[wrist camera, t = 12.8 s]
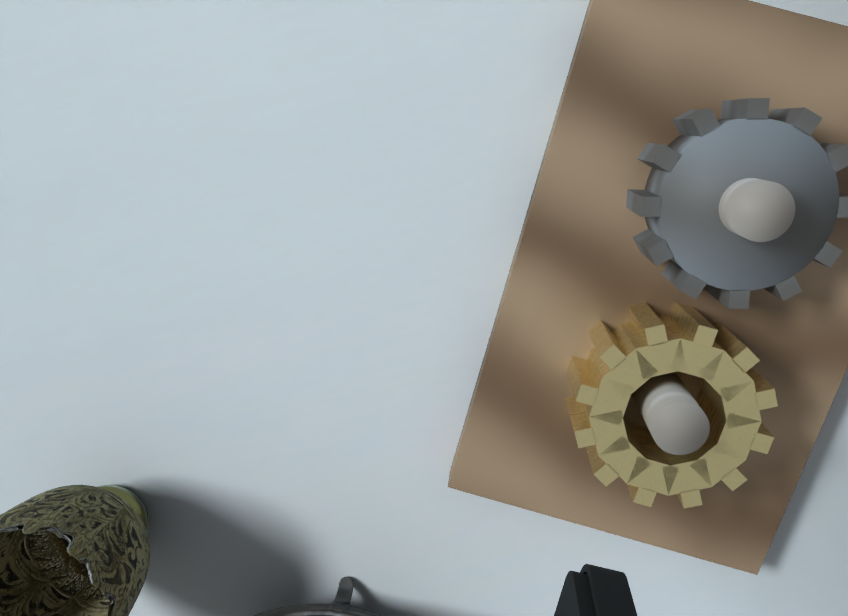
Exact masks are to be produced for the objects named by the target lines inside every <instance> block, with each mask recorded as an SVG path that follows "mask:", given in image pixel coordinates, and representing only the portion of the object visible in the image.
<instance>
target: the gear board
mask: <svg viewBox="0 0 848 616" xmlns="http://www.w3.org/2000/svg"><path fill="white" fill-rule="evenodd" d="M642 302H646V303H647V305H648V306H649V307H650V308H651V309H652V311H653V312H654V313H655V314H656V315H659V314H660V315H664V316H668V317H671V315H672V312H673V309H674V306H675V304H676V302H677V303H681V304H684V305H688V306H692V307H694V308H695V309H696V310H697V311H698V312H699V313H700V314H701V315H702V316H703V317H705V318H706V319H707V320H708V321H709V322H710V323H711V324H712V325H713V326H714V325H715V324H717V323H718V322H719V323H720V324H722V325H723V326H724V327H725V328H726V329H727V330H728V331H730V332H731V333H732V334H733V335H734V336H735V337H736V338H738V339H739V340H740V341H741V342H742V343H743V344H744V345H745V346H747V347H748V348H749V349H750V350H751V352H752V353H753V354H754V355H755V356H756V357H757V358H758V359H759V360H760V361H759V362H758V363H756V364H755V365H754V366H753V367H752V368H753V369H754V370H755V371H757V372H758V373H759V374H760V375H761V376H762V377H763V378H764V379H765V380H766V381H767V382H768V383H769V384H770V385H771V386H772V387H773V388H775V393H776V399H777V404H778V406H777V407H772V408H768V409H763V410H760V416H761V423H762V424H763V425H764V426H765V427H766V429H767V430H768V431H769V432H770V433H771V434H772V435H773V436H774V440H773V442H772V444H771V447H770V449H769V452H768V454H765V453H761V452H757V451H754V450H750V451H749V454H748V456H747V459H746V461H744V462H743V463H742V464H740V465H739V466H738V467H739V468H740V470H741V471H742V473H743V474H744V475H745V477H746V478H747V481H745V482H744V483H743V484H742V485H740V486H739V487H738V488H736V489H735V490H734V491H732V490H731V489H730V488H729V487H728V486H727V485H726V484H725V483H724V482H723V481H722V480H720V481H719V482H718V483H716V484H715V485H714V486H712V487H710V488H705V489H700V490H699V491H700V495H701V500H702V505H700V506H695V507H689V508H683V506H682V504H681V502H680V500H679V498H678V496H677V494H675V495H670V496H667V495H664V494H660V493H656V496H655V498H654V501H653V504H652V506H651V507H648V506H645V505H641V504H637V503H634V502H633V500H632V497H631V495H630V492H629V489H628V486H627V484H626V483H625V482H624V481H623V480H622V479H621V478H620V477H617V478H616V479H615V480H614V481H613V482H611V483H610V484H609V485H608V486H605V485H604V484H603V483H602V482H601V481H600V480H599V479H598V478H597V477H596V476H595V475H594V474H593V471H592V467H591V464H590V460H589V457H588V453H587V450H586V447H583V448H578V445H577V441H576V437H575V433H574V429H573V425H572V421H571V417H570V414H569V409H568V405H567V401H566V398H570V397H574V394H573V390H572V387H571V384H570V380H569V377H568V373H567V369H568V366H569V363H570V360H571V357H572V356H575V357H579V358H582V359H586V360H587V358H588V355H589V352H590V350H591V349H592V348H593V347H594V344H593V342H592V340H591V337H590V335H589V333H588V331H589V330H590V329H591V328H592V327H593V326H595V325H596V324H597V323H598V322H599V321H600V320H601V321H602V322H603V323H604V324H605V325H606V326H607V327H608V328H609V329H610V330H611V331H612V330H613V329H614V328H616V327H617V326H618V325H619V324H620V323H625V322H629V321H631V318H630V314H629V309H628V306H630V305H634V304H638V303H642ZM847 367H848V26H844V25H840V24H837V23H833V22H829V21H825V20H821V19H818V18H814V17H810V16H806V15H802V14H798V13H795V12H791V11H787V10H783V9H779V8H776V7H772V6H768V5H764V4H760V3H757V2H753V1H749V0H590V2H589V5H588V9H587V12H586V15H585V19H584V22H583V26H582V29H581V32H580V36H579V39H578V42H577V46H576V49H575V52H574V56H573V59H572V63H571V66H570V69H569V73H568V76H567V79H566V83H565V86H564V89H563V93H562V96H561V100H560V103H559V106H558V110H557V113H556V116H555V120H554V123H553V127H552V130H551V133H550V137H549V140H548V143H547V147H546V150H545V153H544V157H543V160H542V164H541V167H540V170H539V174H538V177H537V180H536V184H535V187H534V190H533V194H532V197H531V201H530V204H529V207H528V211H527V214H526V217H525V221H524V224H523V227H522V231H521V234H520V238H519V241H518V244H517V248H516V251H515V254H514V258H513V261H512V264H511V268H510V271H509V275H508V278H507V281H506V285H505V288H504V291H503V295H502V298H501V302H500V305H499V308H498V312H497V315H496V318H495V322H494V325H493V328H492V332H491V335H490V339H489V342H488V345H487V349H486V352H485V355H484V359H483V362H482V365H481V369H480V372H479V376H478V379H477V382H476V386H475V389H474V392H473V396H472V399H471V402H470V406H469V409H468V413H467V416H466V419H465V423H464V426H463V429H462V433H461V436H460V439H459V443H458V446H457V450H456V453H455V456H454V460H453V463H452V466H451V470H450V475H449V483H448V487H450V488H453V489H457V490H460V491H464V492H467V493H471V494H474V495H478V496H481V497H485V498H488V499H492V500H496V501H499V502H503V503H506V504H510V505H513V506H517V507H520V508H524V509H527V510H531V511H534V512H538V513H541V514H545V515H548V516H552V517H555V518H559V519H562V520H566V521H569V522H573V523H577V524H580V525H584V526H587V527H591V528H594V529H598V530H601V531H605V532H608V533H612V534H615V535H619V536H622V537H626V538H629V539H633V540H636V541H640V542H643V543H647V544H650V545H654V546H658V547H661V548H665V549H668V550H672V551H675V552H679V553H682V554H686V555H689V556H693V557H696V558H700V559H703V560H707V561H710V562H714V563H717V564H721V565H724V566H728V567H731V568H735V569H739V570H742V571H746V572H749V573H753V574H756V575H757V574H758V572H759V570H760V567H761V565H762V563H763V560H764V558H765V556H766V554H767V551H768V549H769V547H770V544H771V542H772V540H773V537H774V535H775V533H776V531H777V528H778V526H779V524H780V521H781V519H782V517H783V514H784V512H785V510H786V508H787V505H788V503H789V501H790V498H791V496H792V494H793V491H794V489H795V487H796V485H797V482H798V480H799V478H800V475H801V473H802V471H803V469H804V466H805V464H806V462H807V459H808V457H809V455H810V452H811V450H812V448H813V446H814V443H815V441H816V439H817V436H818V434H819V432H820V429H821V427H822V425H823V423H824V420H825V418H826V416H827V413H828V411H829V409H830V406H831V404H832V402H833V400H834V397H835V395H836V393H837V390H838V388H839V386H840V384H841V381H842V379H843V377H844V374H845V372H846V370H847ZM700 389H701V386H700V381H699V377H697V376H694V375H690V374H686V373H683V372H679V371H677V372H672V373H668V374H663V375H659V376H654V377H651V378H650V379H649V380H647V381H646V382H645V383H644V384H643V385H641V386H640V387H639V388H638V389H637V390H636V391H634V392H633V393H632V394H631V396H630V399H629V402H628V405H627V407H626V410H625V413H624V416H623V417H624V418H625V419H626V420H627V421H628V422H629V423H633V424H637V425H640V426H644V427H647V428H648V429H649V431H650V433H651V435H652V437H653V439H654V441H655V442H656V444H657V445H658V446H659V447H660V448H661V449H662V450H664V451H665V452H667V453H670V454H674V455H685V454H689V453H692V452H694V451H696V450H698V449H699V448H700V447H701V446H702V445H703V444H704V443H705V441H706V440H707V438H708V435H709V431H710V425H709V420H708V418H707V416H706V414H705V413H704V411H703V410H702V409H701V407H700V406H699V405H698V403H697V402H696V399H697V397H698V394H699V392H700Z"/></svg>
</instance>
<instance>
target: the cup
mask: <svg viewBox="0 0 848 616" xmlns="http://www.w3.org/2000/svg"><path fill="white" fill-rule="evenodd" d="M147 527H148V516H147V512H146V509H145V506H144V505H143V503H142V501H141V500H140V499H139V498H138V497H137V496H136V495H135V494H134V493H133V492H131V491H130V490H128V489H126V488H124V487H120V486H116V485H103V486H98V487H94V486H87V485H71V486H64V487H59V488H55V489H52V490H49V491H46V492H43V493H41V494H39V495H36V496H34V497H32V498H30V499H28V500H26V501H24V502H23V503H21V504H19V505H17V506H15V507H13V508H12V509H10V510H8V511H7V512H5V513H3V514H1V515H0V616H128V615H129V613H130V611H131V609H132V608H133V606H134V604H135V602H136V600H137V598H138V596H139V594H140V591H141V589H142V587H143V584H144V582H145V579H146V575H147V572H148V568H149V561H150V544H149V538H148V534H147Z"/></svg>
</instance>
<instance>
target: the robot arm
mask: <svg viewBox="0 0 848 616" xmlns="http://www.w3.org/2000/svg"><path fill="white" fill-rule="evenodd" d="M554 616H637V613H636V609H635V606H634V602H633V599H632V595H631V592H630V588H629V584H628V581H627V578H626V575H625V574H624V573H623V572H619V571H615V570H611V569H606V568H602V567H598V566H594V565H589V564H585V565H584V566H583V568H582V569H581V572H580V573H579V572H574V571H569V572H568V574H567V576H566V579H565V582H564V585H563V589H562V592H561V595H560V598H559V601H558V605H557V608H556V611H555V614H554Z"/></svg>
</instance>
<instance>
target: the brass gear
mask: <svg viewBox="0 0 848 616" xmlns="http://www.w3.org/2000/svg"><path fill="white" fill-rule="evenodd" d="M628 309H629V314H630V318H631V321H629V322H625V323H620V324H619V325H618V326H617V327H616V328H614V329H613V330H612V331H611V330H610V329H609V328H608V327H607V326H606V325H605V324H604V323H603V322H602V321H601V320H600V321H599V322H598V323H597V324H596V325H595V326H593V327H592V328H591V329H590V330H589V331H588V333H589V335H590V337H591V340H592V342H593V344H594V347H593V348H592V349H591V350H590V352H589V355H588V358H587V360H586V359H582V358H579V357H575V356H572V357H571V360H570V363H569V366H568V369H567V373H568V377H569V380H570V384H571V387H572V390H573V394H574V397H570V398H566V401H567V405H568V409H569V414H570V417H571V421H572V425H573V429H574V433H575V437H576V441H577V445H578V448H583V447H586V450H587V453H588V457H589V460H590V464H591V467H592V471H593V474H594V475H595V476H596V477H597V478H598V479H599V480H600V481H601V482H602V483H603V484H604V485H605V486H608V485H609V484H610V483H611V482H613V481H614V480H615V479H616V478H617V477H620V478H621V479H622V480H623V481H624V482H625V483H626V484H627V486H628V489H629V492H630V495H631V497H632V500H633V502H634V503H637V504H641V505H645V506H648V507H651V506H652V504H653V501H654V498H655V496H656V493H660V494H664V495H667V496H670V495H675V494H677V496H678V498H679V500H680V502H681V504H682V506H683V508H689V507H695V506H700V505H702V500H701V495H700V491H699V490H700V489H705V488H710V487H712V486H714V485H715V484H716V483H718V482H719V481H720V480H722V481H723V482H724V483H725V484H726V485H727V486H728V487H729V488H730V489H731V490H732V491H734V490H735V489H736V488H738V487H739V486H740V485H742V484H743V483H744V482H745V481H747V478H746V477H745V475H744V474H743V473H742V471H741V470H740V468H739V467H738V466H739V465H740V464H742V463H743V462H744V461H746V459H747V456H748V454H749V451H750V450H754V451H757V452H761V453H765V454H768V452H769V449H770V447H771V444H772V442H773V440H774V436H773V435H772V434H771V433H770V432H769V431H768V430H767V429H766V427H765V426H764V425H763V424H762V423H761V416H760V410H763V409H768V408H772V407H777V406H778V404H777V399H776V393H775V388H773V387H772V386H771V385H770V384H769V383H768V382H767V381H766V380H765V379H764V378H763V377H762V376H761V375H760V374H759V373H758V372H757V371H755V370H754V369H753V368H752V367H753V366H754V365H755V364H756V363H758V362H759V361H760V360H759V359H758V358H757V357H756V356H755V355H754V354H753V353H752V352H751V350H750V349H749V348H748V347H747V346H745V345H744V344H743V343H742V342H741V341H740V340H739V339H738V338H736V337H735V336H734V335H733V334H732V333H731V332H730V331H728V330H727V329H726V328H725V327H724V326H723V325H722V324H720V323H719V322H718V323H717V324H715V325H714V326H713V325H712V324H711V323H710V322H709V321H708V320H707V319H706V318H705V317H703V316H702V315H701V314H700V313H699V312H698V311H697V310H696V309H695V308H694V307H692V306H688V305H684V304H681V303H677V302H676V304H675V306H674V309H673V312H672V315H671V317H668V316H664V315H660V314H659V315H656V314H655V313H654V312H653V311H652V309H651V308H650V307H649V306H648V305H647V303H646V302H642V303H638V304H634V305H630V306H628ZM677 371H679V372H683V373H686V374H690V375H694V376H697V377H699V381H700V386H701V389H700V392H699V394H698V397H697V399H696V402H697V403H698V405H699V406H700V407H701V409H702V410H703V411H704V413H705V414H706V416H707V418H708V420H709V425H710V431H709V435H708V438H707V440H706V441H705V443H704V444H703V445H702V446H701V447H700V448H699V449H698V450H696V451H694V452H692V453H689V454H685V455H674V454H670V453H667V452H665V451H664V450H662V449H661V448H660V447H659V446H658V445H657V444H656V442H655V441H654V439H653V437H652V435H651V433H650V431H649V429H648V428H647V427H644V426H640V425H637V424H633V423H629V422H628V421H627V420H626V419H625V418H624V417H623V416H624V413H625V410H626V407H627V405H628V402H629V399H630V396H631V394H632V393H633V392H634V391H636V390H637V389H638V388H639V387H640V386H641V385H643V384H644V383H645V382H646V381H647V380H649V379H650V378H651V377H654V376H659V375H663V374H668V373H672V372H677Z"/></svg>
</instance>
